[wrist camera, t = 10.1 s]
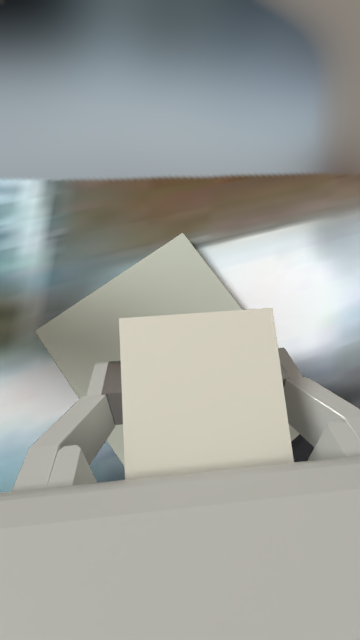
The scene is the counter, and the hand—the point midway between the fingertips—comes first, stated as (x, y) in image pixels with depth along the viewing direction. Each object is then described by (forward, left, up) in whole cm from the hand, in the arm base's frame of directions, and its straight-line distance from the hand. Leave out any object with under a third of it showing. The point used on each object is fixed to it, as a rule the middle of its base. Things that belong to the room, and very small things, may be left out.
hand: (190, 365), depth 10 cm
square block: (+1, 0, -5) cm, 5 cm away
